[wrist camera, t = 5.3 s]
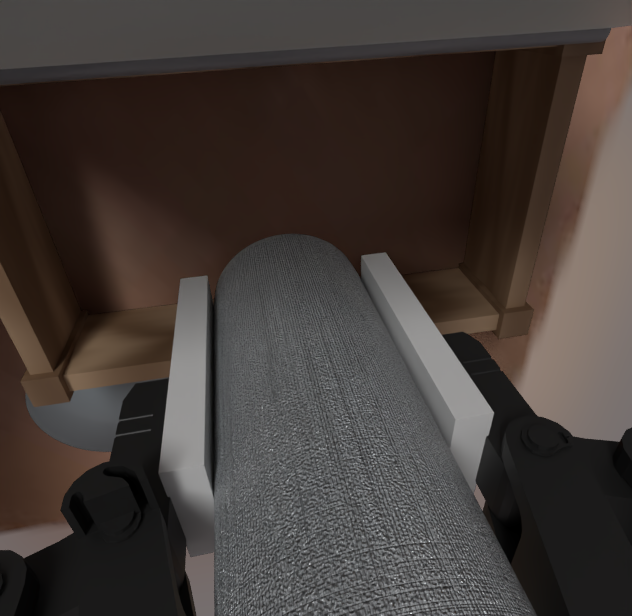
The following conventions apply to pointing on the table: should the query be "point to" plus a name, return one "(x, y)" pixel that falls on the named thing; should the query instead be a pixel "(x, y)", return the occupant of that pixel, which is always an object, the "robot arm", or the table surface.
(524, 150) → the cold frame
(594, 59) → the table surface
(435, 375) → the robot arm
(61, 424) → the saucer
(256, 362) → the grey cylindrical cup
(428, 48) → the lid
